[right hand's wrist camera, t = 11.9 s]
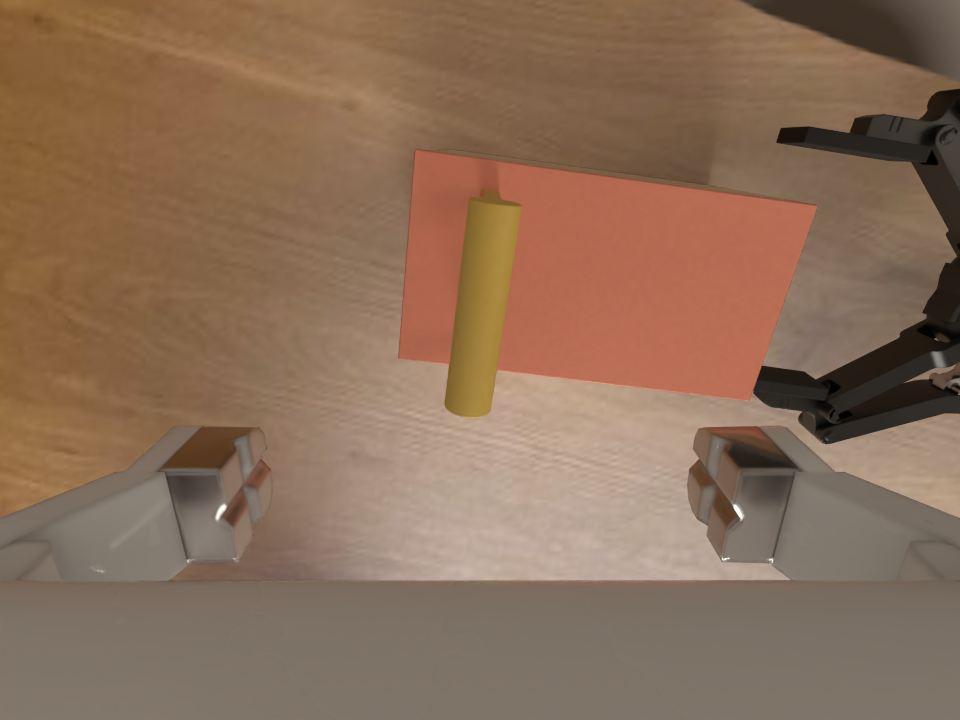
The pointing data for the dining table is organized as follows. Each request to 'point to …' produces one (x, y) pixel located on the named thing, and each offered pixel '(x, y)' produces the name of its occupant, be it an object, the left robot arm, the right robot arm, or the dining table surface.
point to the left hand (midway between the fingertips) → (748, 262)
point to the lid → (591, 278)
